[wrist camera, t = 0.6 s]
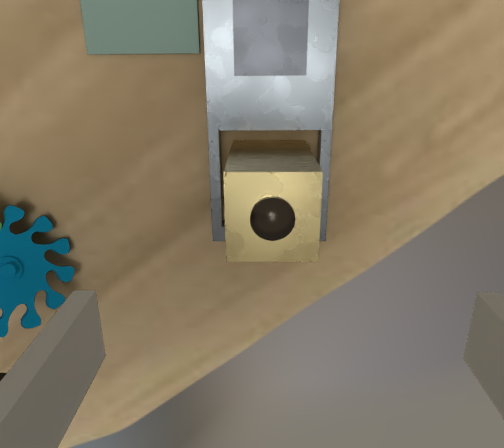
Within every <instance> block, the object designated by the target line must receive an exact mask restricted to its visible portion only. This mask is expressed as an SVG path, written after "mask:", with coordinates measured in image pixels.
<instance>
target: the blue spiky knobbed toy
mask: <svg viewBox="0 0 504 448" xmlns="http://www.w3.org/2000/svg"><path fill="white" fill-rule="evenodd" d="M23 216H24V211H23V210H22V209H20V208H18V207H15V206H12V205H9V206H7V207H6V208H5V210H4V221H3V224H2V225H1V222H0V308H1V309H2V311H3V313H2V316H1V317H0V337H4V336H6V334H7V332H8V320H9V317H10V315H11V313H12V312H13V310H14V309H15V308H16V306H17V305H19V304H25V305H26V306H27V311H26V313H25V314H24V315H23V317H22V318H21V325H22V327H24V328H33V327H36V326H39V325H40V324H41V318H40V317H39V315H38V314H37V312H36V310H35V306H34V300H35V294H36V293H37V292H38V291H40V290H44V291H45V292H46V305H47V306H48V307H49V308H52V309H56V308H57V307H59V306H60V305H61V304H62V303H63V302H64V301H65V297H64V296H63V295H62V294H59V293H57V292H55V291H54V290H52V289H51V287H50V286H49V285H48V283H47V281H46V278H45V276H46V273H47V272H48V271H50V270H53V271H54V272H55V273H56V275H57V277H58V279H59V280H61V281H64V282H70V280H71V279H72V277H73V275H74V271H75V269H74V268H73V267H71V266H56V265H53V264H51V263H50V262H48V261H47V260H46V259H45V258H44V253H45V252H46V251H47V250H48V249H51V250H53V251H54V252H56V253H57V254H67V253H69V250H70V248H69V242H68V239H65V238H62V239H57V240H56V241H54V242H52V243H50V244H46V245H41V244H35V243H33V242H32V240H31V236H32V234H33V233H34V232H48V231H50V230H51V229H52V228H53V225H52V223H51V222H50V221H49V219H48V218H47V217H45V216H41V217H38V218H37V219H36V220H35V221H34V224H33V225H32V226H31V227H30V228H29V229H28V230H27V231H25V232H23V233H20V234H17V235H15V234H12V233H11V232H10V230H9V226H10V224H11V223H13V222H15V221H18V220H20V219H22V218H23Z"/></svg>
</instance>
